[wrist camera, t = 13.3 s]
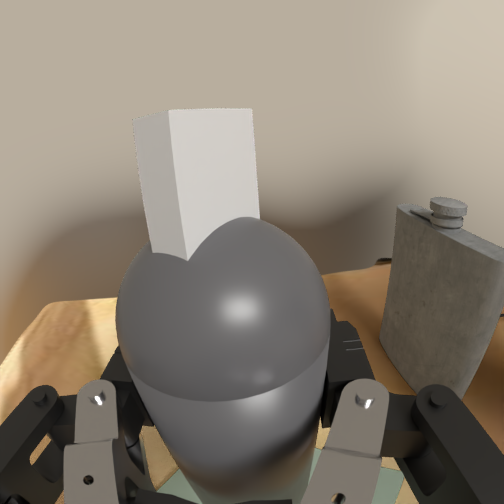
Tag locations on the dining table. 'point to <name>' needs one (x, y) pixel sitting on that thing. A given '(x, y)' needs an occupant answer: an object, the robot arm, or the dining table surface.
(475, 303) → the hip flask
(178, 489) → the mat
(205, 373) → the grey bottle
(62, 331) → the dining table surface
